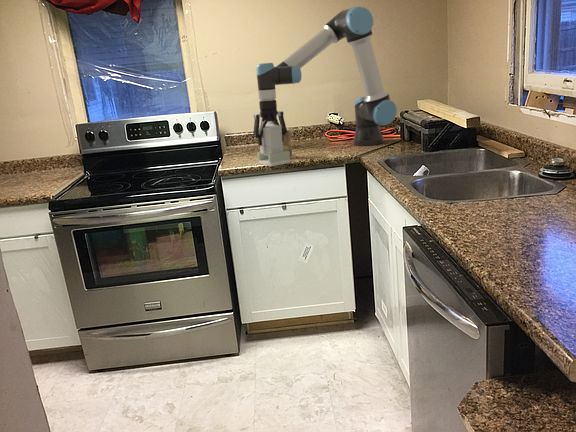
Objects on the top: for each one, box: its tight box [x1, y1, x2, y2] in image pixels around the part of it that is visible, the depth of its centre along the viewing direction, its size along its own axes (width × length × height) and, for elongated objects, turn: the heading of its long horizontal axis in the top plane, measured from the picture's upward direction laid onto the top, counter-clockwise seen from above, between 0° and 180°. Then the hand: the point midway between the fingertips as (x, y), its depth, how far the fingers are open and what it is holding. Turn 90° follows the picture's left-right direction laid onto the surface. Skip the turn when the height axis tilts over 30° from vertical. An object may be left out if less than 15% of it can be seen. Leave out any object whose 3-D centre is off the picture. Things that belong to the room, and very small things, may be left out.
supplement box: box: [259, 124, 283, 156], centre depth 230 cm, size 7×7×13 cm
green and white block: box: [256, 151, 291, 167], centre depth 234 cm, size 10×12×5 cm
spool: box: [282, 128, 297, 160], centre depth 242 cm, size 9×9×13 cm
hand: (271, 151), depth 232 cm, fingers open, 9 cm apart
